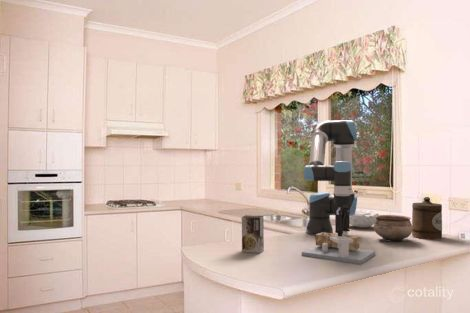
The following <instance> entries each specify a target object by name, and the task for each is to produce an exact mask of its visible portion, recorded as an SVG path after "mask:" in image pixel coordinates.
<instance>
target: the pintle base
mask: <svg viewBox="0 0 470 313" xmlns="http://www.w3.org/2000/svg"><path fill="white" fill-rule="evenodd" d="M324 235H328V233H324ZM330 240H332V241H334V242H336V243H339V248H338V247H328V244H327V243H323V244H322V246H317V245H316V244H315V245H314V246H312V247H310V248H307V249H306V250H303V251H301V256H303V257H311V258H317V259H325V260H331V261H336V262H337V261H338V262H345V263H351V264H357V265H362V264H363V263H365V262H367V261H368V260H369V259H371V258H372V257H373V256H375V254H376V251H375V250H369V249H368V250H367V249H361V248H359V249H357V250H353V249H349V243H351V242H353V239H351V238H348V237H346V236H334V237H330Z"/></svg>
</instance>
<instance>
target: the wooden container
mask: <svg viewBox="0 0 470 313" xmlns="http://www.w3.org/2000/svg"><path fill="white" fill-rule="evenodd" d="M411 206H412V210H411V211H412V216H411V224H412V228H413V230H412V233H411V236H412V237H413V238H417V239H423V240H440V239H442V238H443V212H442V211H443V205H442V203H441V204H440V203H436V202H435V203H434V202H432V201H431V198H430V197H429V196H425V197H423V201H422V202H413V203H412V205H411Z"/></svg>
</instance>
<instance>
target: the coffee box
mask: <svg viewBox="0 0 470 313" xmlns="http://www.w3.org/2000/svg"><path fill="white" fill-rule="evenodd" d="M264 226H265V225H264V215H251V214H250V215H249V214H247V215H246V214H245V215H244V216H241V253H242V252H243V253H256V254H257V253H258V254H261V253H263V252H264V251H265V244H264V243H265V242H264V240H265V239H264V234H265V233H264V232H265V231H264Z"/></svg>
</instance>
